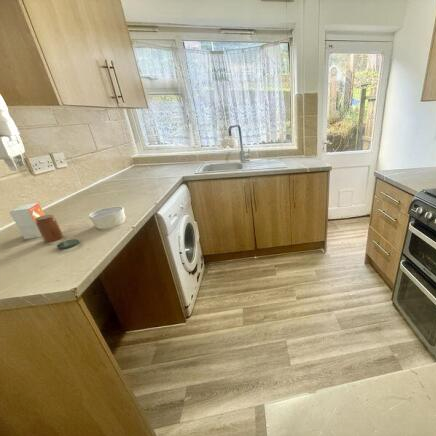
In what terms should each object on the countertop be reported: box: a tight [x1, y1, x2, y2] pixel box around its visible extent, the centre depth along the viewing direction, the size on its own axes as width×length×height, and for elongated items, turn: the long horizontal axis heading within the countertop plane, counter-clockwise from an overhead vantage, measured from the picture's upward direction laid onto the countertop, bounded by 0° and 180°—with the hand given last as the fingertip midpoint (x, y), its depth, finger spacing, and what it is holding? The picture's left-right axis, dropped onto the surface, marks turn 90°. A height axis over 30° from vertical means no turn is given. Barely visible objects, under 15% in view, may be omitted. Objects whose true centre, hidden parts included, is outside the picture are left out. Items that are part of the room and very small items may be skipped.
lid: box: [56, 238, 80, 251], centre depth 95 cm, size 6×6×2 cm
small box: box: [9, 202, 46, 240], centre depth 104 cm, size 8×6×13 cm
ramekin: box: [88, 205, 127, 230], centre depth 113 cm, size 13×13×7 cm
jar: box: [35, 214, 65, 243], centre depth 99 cm, size 6×6×11 cm
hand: (18, 168), depth 95 cm, fingers open, 8 cm apart
